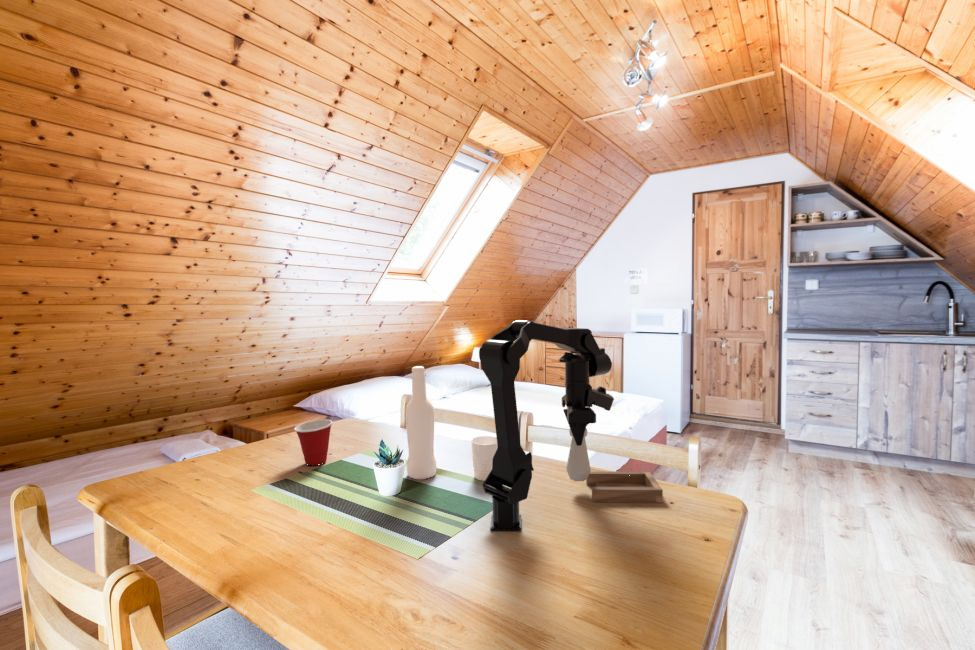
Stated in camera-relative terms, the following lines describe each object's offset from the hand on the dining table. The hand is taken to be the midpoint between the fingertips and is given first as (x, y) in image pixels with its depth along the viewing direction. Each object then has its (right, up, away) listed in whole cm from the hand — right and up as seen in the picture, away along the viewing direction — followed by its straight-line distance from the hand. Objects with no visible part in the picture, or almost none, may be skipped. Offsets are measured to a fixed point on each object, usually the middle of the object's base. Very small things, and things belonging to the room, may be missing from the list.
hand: (577, 442), depth 120 cm
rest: (+10, -12, 0) cm, 16 cm away
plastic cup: (-74, -13, +26) cm, 79 cm away
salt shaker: (0, -9, +1) cm, 9 cm away
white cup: (-22, -12, +12) cm, 28 cm away
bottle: (-40, -13, +15) cm, 45 cm away
